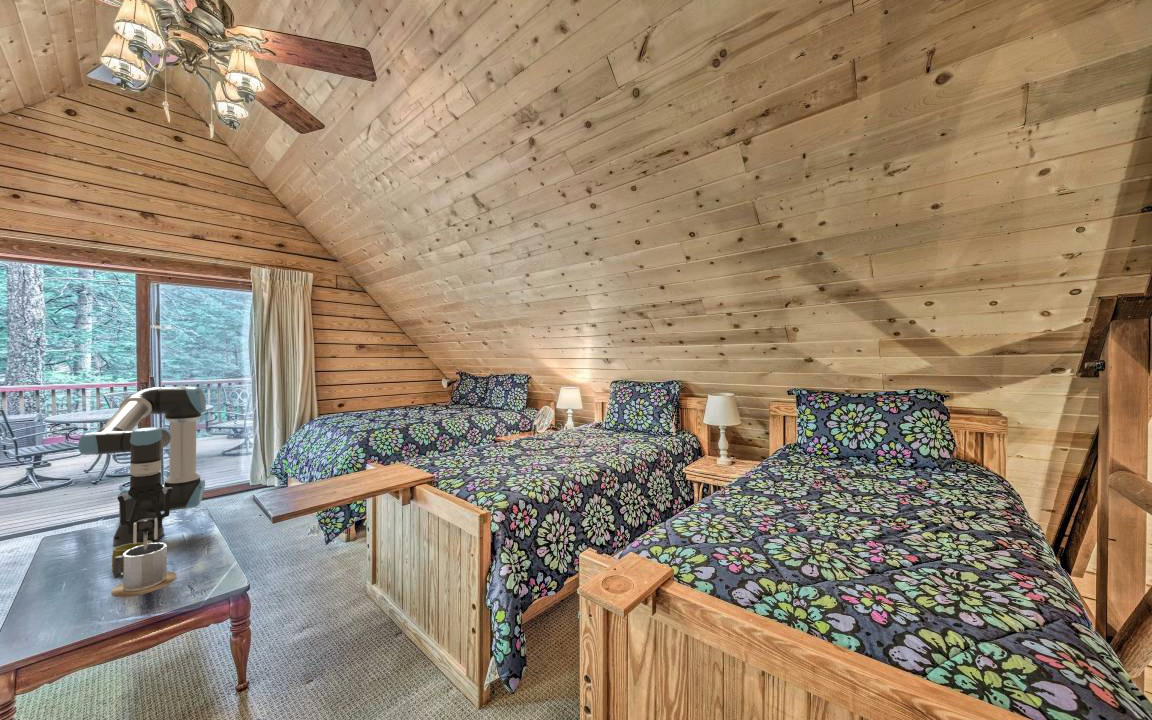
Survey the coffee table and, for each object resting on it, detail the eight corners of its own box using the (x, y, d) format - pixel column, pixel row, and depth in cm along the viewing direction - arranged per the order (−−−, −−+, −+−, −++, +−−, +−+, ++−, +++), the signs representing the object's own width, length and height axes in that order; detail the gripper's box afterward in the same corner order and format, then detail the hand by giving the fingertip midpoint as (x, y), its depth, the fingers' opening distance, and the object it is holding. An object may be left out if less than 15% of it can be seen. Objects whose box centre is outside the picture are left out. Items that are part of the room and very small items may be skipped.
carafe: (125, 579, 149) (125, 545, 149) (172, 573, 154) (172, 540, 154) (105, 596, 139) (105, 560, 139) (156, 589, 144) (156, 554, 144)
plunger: (137, 573, 149) (138, 517, 149) (164, 570, 152) (164, 515, 151) (125, 584, 142) (125, 525, 142) (152, 580, 145) (153, 523, 145)
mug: (123, 572, 151) (124, 543, 154) (102, 577, 153) (103, 548, 156) (163, 563, 163) (163, 536, 165) (143, 567, 165) (144, 541, 167)
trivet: (129, 577, 152) (129, 575, 152) (185, 570, 158) (185, 568, 158) (98, 602, 137) (98, 600, 137) (162, 593, 143) (162, 592, 143)
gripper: (108, 481, 137) (107, 552, 138) (181, 471, 150) (180, 536, 151) (108, 475, 143) (108, 544, 143) (179, 466, 155) (179, 529, 156)
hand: (145, 540), depth 147 cm, fingers closed on plunger, 4 cm apart
